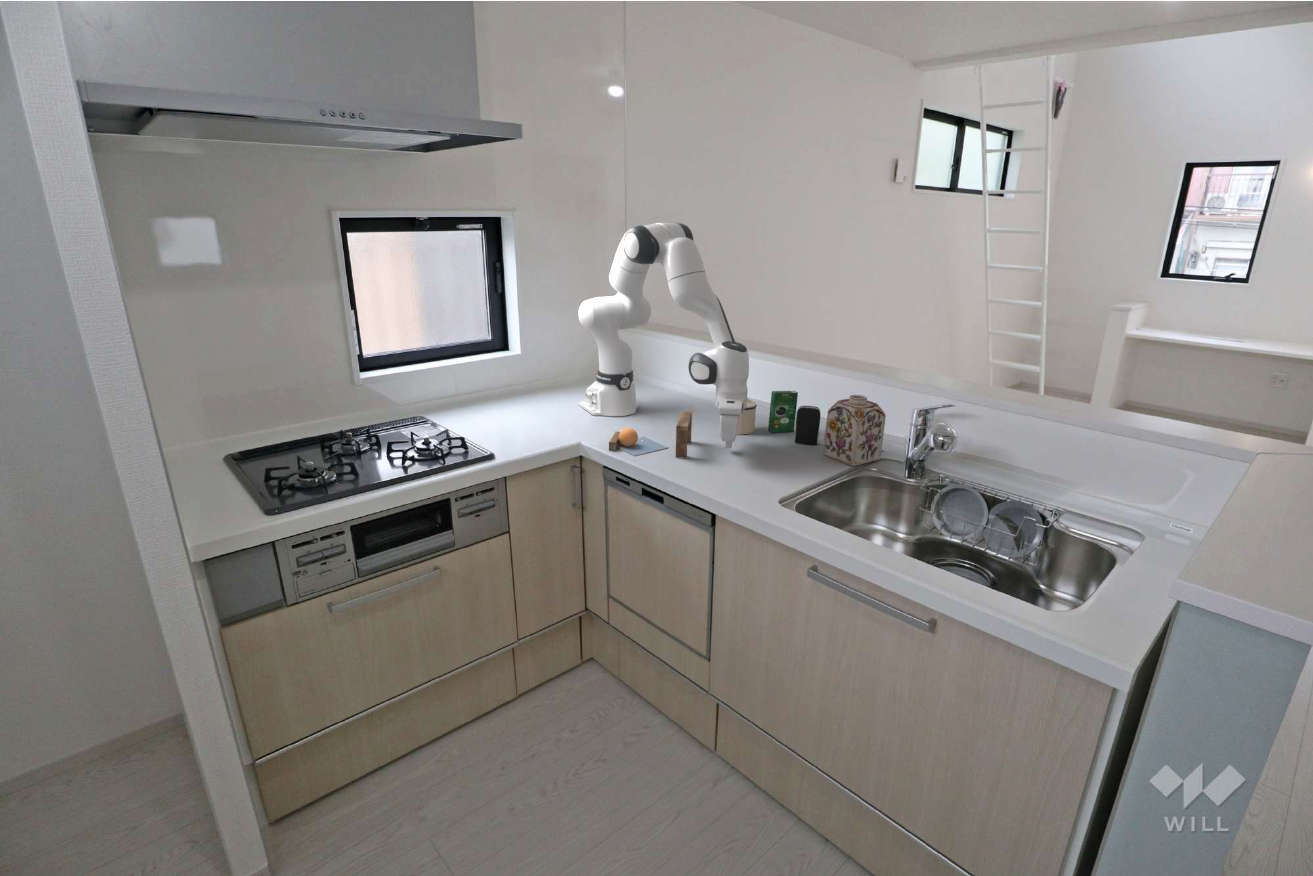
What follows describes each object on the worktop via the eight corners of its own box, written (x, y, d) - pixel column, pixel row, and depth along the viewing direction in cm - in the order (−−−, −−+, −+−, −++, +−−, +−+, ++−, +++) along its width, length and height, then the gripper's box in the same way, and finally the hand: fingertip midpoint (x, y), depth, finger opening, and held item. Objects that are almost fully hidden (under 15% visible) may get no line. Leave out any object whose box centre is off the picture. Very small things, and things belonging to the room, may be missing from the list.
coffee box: (791, 429, 216) (794, 389, 212) (795, 432, 213) (798, 391, 209) (767, 430, 214) (770, 390, 210) (770, 433, 212) (773, 392, 207)
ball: (615, 427, 197) (633, 422, 195) (621, 435, 201) (639, 430, 200) (616, 443, 194) (635, 438, 193) (623, 452, 199) (641, 447, 197)
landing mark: (611, 444, 199) (611, 444, 199) (644, 437, 206) (644, 436, 206) (634, 456, 190) (634, 455, 190) (668, 448, 197) (668, 447, 197)
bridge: (675, 457, 190) (676, 425, 187) (681, 440, 203) (682, 411, 200) (686, 458, 189) (687, 426, 186) (691, 441, 203) (692, 411, 200)
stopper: (608, 450, 194) (608, 442, 193) (615, 439, 204) (615, 431, 203) (615, 450, 194) (615, 442, 193) (622, 439, 203) (622, 431, 203)
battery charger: (818, 441, 204) (821, 405, 201) (817, 445, 201) (821, 409, 197) (794, 439, 206) (797, 403, 202) (793, 443, 203) (797, 407, 199)
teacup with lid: (758, 429, 216) (761, 393, 212) (749, 437, 208) (752, 400, 204) (723, 423, 221) (725, 389, 217) (713, 431, 213) (714, 395, 209)
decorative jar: (853, 467, 184) (860, 404, 179) (821, 455, 193) (827, 394, 188) (882, 459, 191) (890, 398, 185) (850, 448, 200) (856, 389, 194)
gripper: (721, 390, 200) (719, 434, 204) (717, 409, 181) (715, 458, 185) (743, 391, 199) (740, 436, 203) (741, 410, 180) (738, 459, 184)
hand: (728, 446), depth 194 cm, fingers closed
